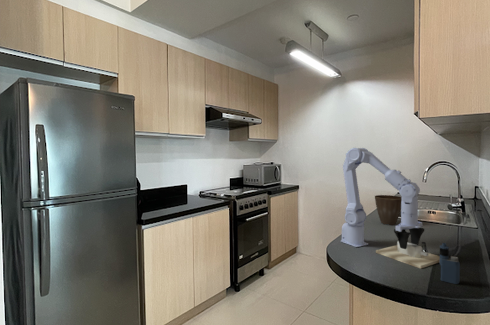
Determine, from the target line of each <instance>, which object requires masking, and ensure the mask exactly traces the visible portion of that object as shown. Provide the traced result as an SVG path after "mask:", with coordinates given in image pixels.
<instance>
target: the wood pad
mask: <svg viewBox="0 0 490 325" xmlns="http://www.w3.org/2000/svg"><path fill="white" fill-rule="evenodd" d="M422 251H423V252H425V251H424V250H422ZM375 253H376V254H378V255H381V256H384V257H386V258H390V259H392V260H395V261H398V262H401V263H404V264H406V265H410V266H412V267H415V268H418V269H424V268H426V267H429V266H433V265H436V264H438V263H439V261H440V258H439V257H440V255H437V254H433V253H430V252H428V253H429V255H428V256H424V255H422V258H416V257H412V256H409V255H406V254H403V253H400V252H398V251H397V244H396V245H392V246H388V247H384V248H380V249H375ZM439 264H440V263H439Z"/></svg>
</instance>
